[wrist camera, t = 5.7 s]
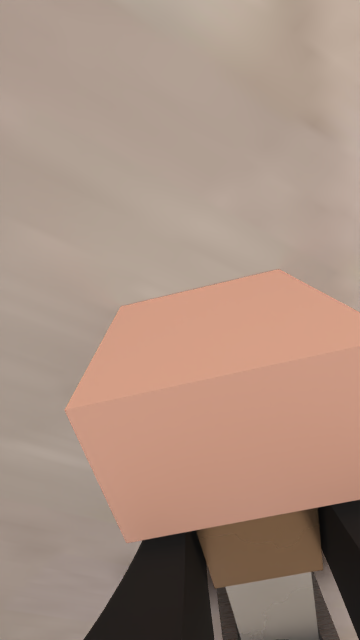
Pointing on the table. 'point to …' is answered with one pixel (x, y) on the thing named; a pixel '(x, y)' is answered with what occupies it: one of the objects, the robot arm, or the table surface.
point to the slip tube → (268, 573)
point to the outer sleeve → (324, 621)
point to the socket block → (223, 406)
